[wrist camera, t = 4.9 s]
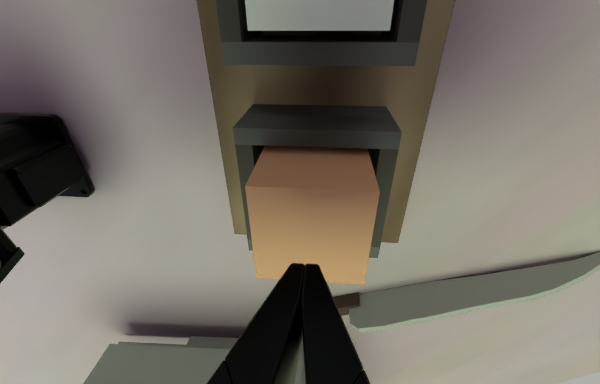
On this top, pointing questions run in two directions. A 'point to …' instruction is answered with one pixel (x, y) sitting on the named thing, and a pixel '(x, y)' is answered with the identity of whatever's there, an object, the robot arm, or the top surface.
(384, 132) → the button board
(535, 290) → the kitchen knife
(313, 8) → the grey button
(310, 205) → the terracotta button
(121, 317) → the top surface
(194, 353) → the toaster
